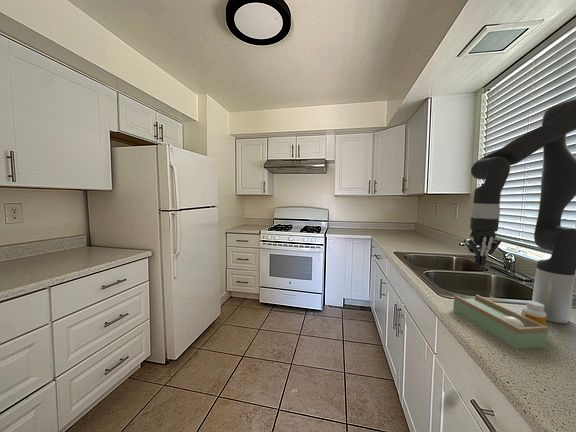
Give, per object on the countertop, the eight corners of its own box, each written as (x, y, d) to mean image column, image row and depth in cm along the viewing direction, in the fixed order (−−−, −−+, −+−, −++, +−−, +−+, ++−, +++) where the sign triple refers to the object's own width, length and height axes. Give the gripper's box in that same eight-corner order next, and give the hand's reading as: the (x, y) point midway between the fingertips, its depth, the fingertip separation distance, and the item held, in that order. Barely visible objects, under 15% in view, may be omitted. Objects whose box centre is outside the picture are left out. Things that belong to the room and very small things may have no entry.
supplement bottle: (548, 338, 73) (553, 308, 72) (528, 336, 74) (532, 306, 73) (534, 329, 78) (538, 300, 77) (515, 326, 79) (519, 298, 78)
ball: (530, 319, 70) (532, 341, 70) (509, 314, 76) (511, 334, 75) (511, 319, 70) (513, 340, 69) (492, 313, 76) (494, 333, 75)
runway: (475, 309, 90) (477, 294, 90) (545, 347, 68) (548, 327, 68) (453, 310, 89) (454, 295, 88) (516, 349, 67) (519, 329, 67)
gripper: (490, 215, 87) (486, 262, 88) (458, 215, 85) (454, 262, 87) (512, 218, 79) (507, 268, 81) (477, 217, 77) (472, 269, 79)
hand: (479, 265), depth 84 cm, fingers closed
